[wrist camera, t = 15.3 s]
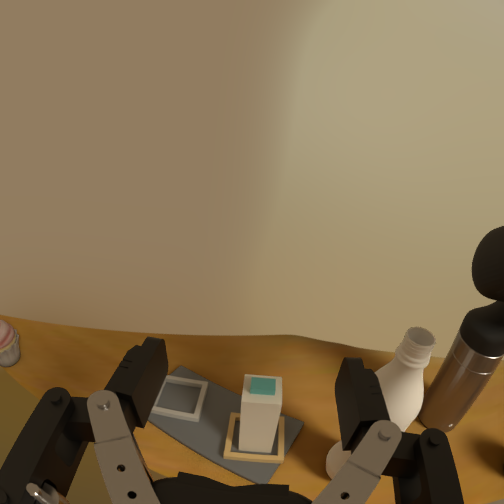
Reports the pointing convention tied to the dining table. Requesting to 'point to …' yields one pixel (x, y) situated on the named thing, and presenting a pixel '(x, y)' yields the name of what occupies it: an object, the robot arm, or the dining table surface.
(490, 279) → the robot arm
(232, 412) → the panel
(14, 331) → the cupcake
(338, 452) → the water bottle
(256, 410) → the white tall box
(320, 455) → the dining table surface
